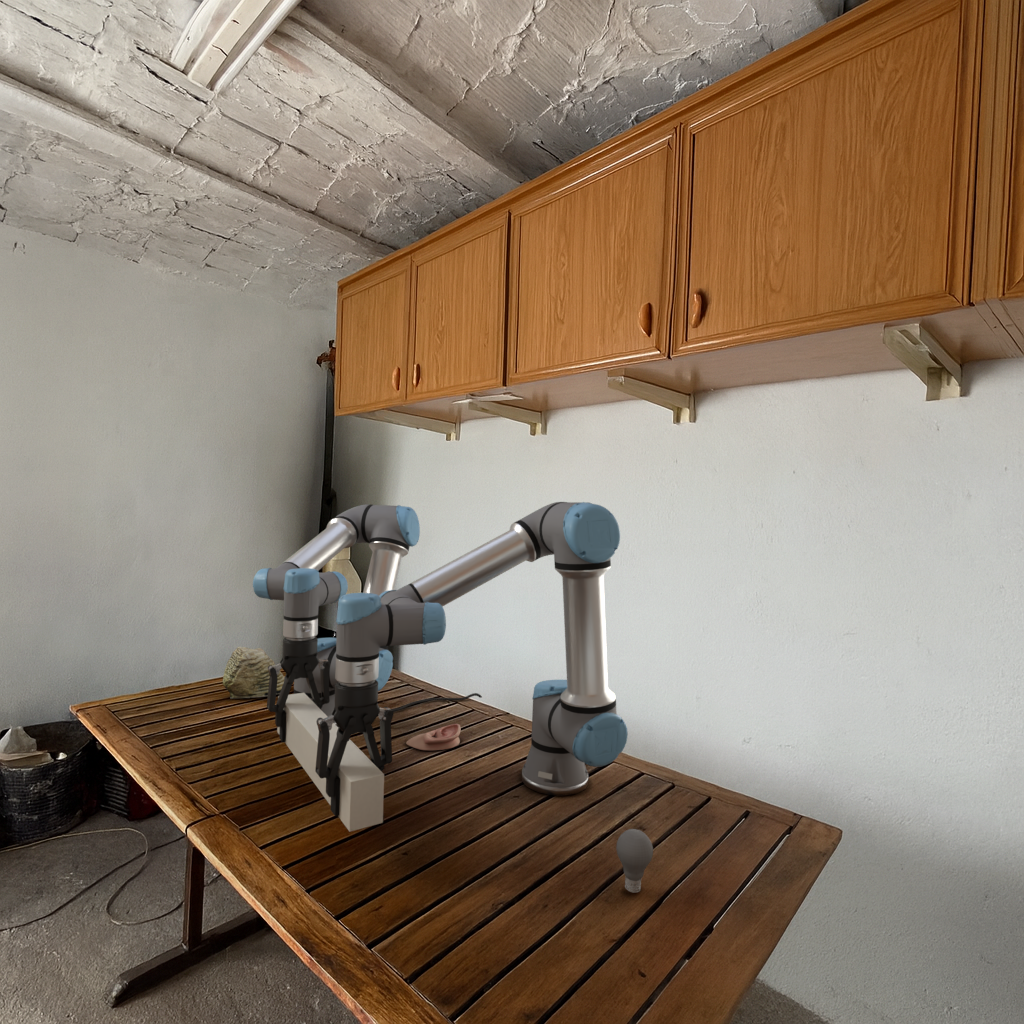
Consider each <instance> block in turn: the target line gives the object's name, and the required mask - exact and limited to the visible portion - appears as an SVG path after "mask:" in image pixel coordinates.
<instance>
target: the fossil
mask: <svg viewBox="0 0 1024 1024" xmlns="http://www.w3.org/2000/svg"><path fill="white" fill-rule="evenodd" d="M270 665H272V666H274V665H276V663H275V662H274V660H273V659H272V658H271V657H270V656H269V655H268V654H267V653H266V652H265V650H264V649H263V648H260V647H258V648H251V647H247V646H246V647H245V646H238V647H237V648H236V649H235V650H233V651H232V653H231V656H230V657H229V659H228V660H227V663H226V666H225V668H224V671H223V675H222V676H223V677H222V685H223V687H224V688H225V690H226V691H228V693H229V698H230V699H250V698H264V697H268V689H269V678H270V675H269V671H268V666H270ZM277 677H278V681H277V691H276V695H280V692H281V689H282V686H283V683H284V678H285V676H284V674H283V673H282V672H281V671H280V673H279V674H278V675H277Z"/></svg>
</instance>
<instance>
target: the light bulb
mask: <svg viewBox="0 0 1024 1024" xmlns="http://www.w3.org/2000/svg"><path fill="white" fill-rule="evenodd" d="M615 849H616V854H617V857H618V859H619V861H620V863H621V865H622V867H623V873H624V874H623V875H624V876H625V878H624V888H625V890H627V891H628V892H630V893H634V894H635V893H639V892H640V891H641V889H642V887H641V886H642V879H643V877H644V875H645V871H646V868H647V867H648V866H649V864H650V863H651V861H652V859H653V855H654V847H653V843H652V841H651V838H649V836H648V835H647V834H646V833H645V832H643V831H642V830H641V829H636V828H629V829H627V830H625V831H623V832H622V833H621V834H620V835H619V837H618V839H617V841H616V847H615Z"/></svg>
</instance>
